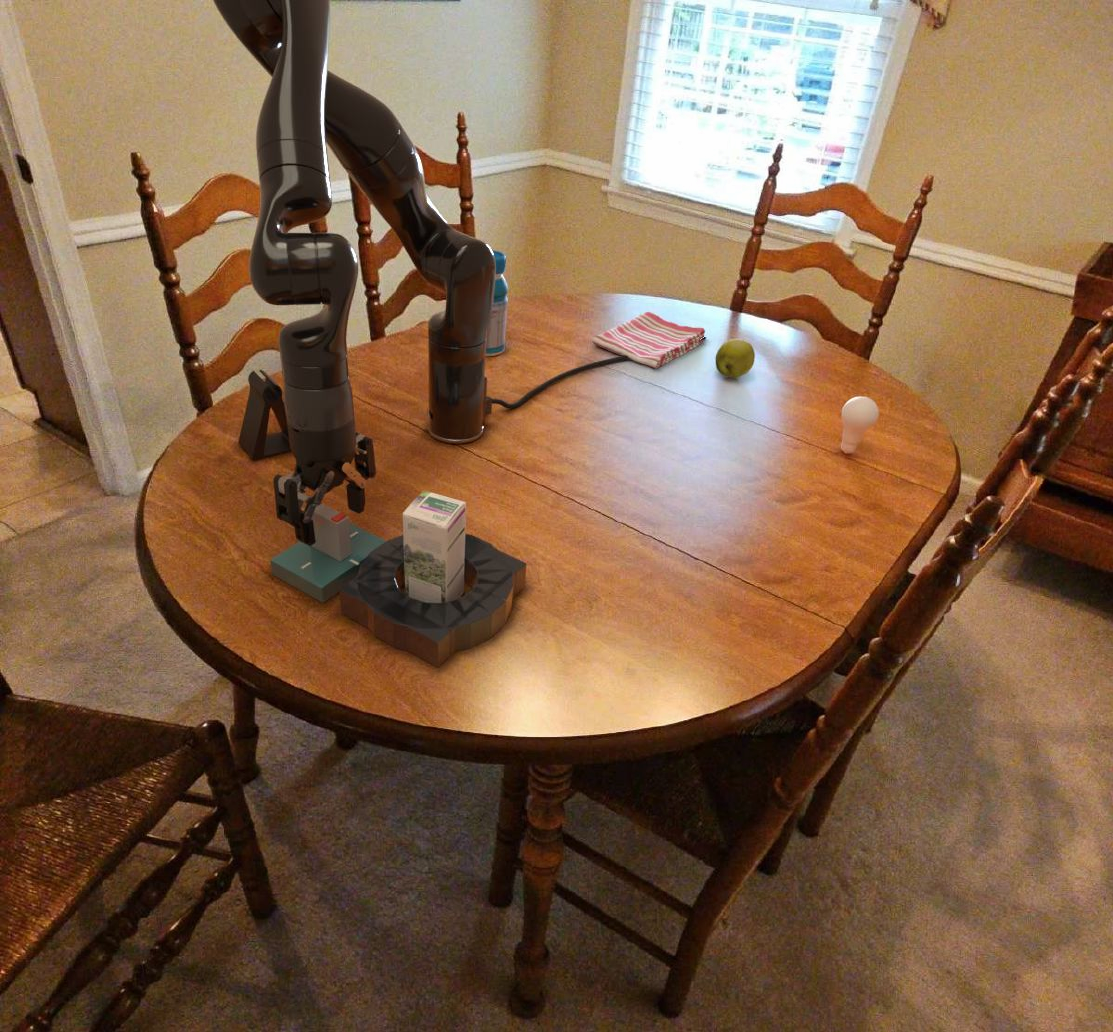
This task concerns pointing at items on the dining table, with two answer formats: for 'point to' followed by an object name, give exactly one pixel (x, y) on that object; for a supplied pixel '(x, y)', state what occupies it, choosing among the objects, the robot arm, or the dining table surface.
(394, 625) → the dark grey ring block
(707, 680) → the dining table surface
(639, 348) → the dish towel
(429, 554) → the syrup box
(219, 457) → the dining table surface
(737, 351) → the apple
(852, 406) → the lightbulb
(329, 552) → the tap handle
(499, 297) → the beverage bottle
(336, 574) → the block
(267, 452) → the phone stand
